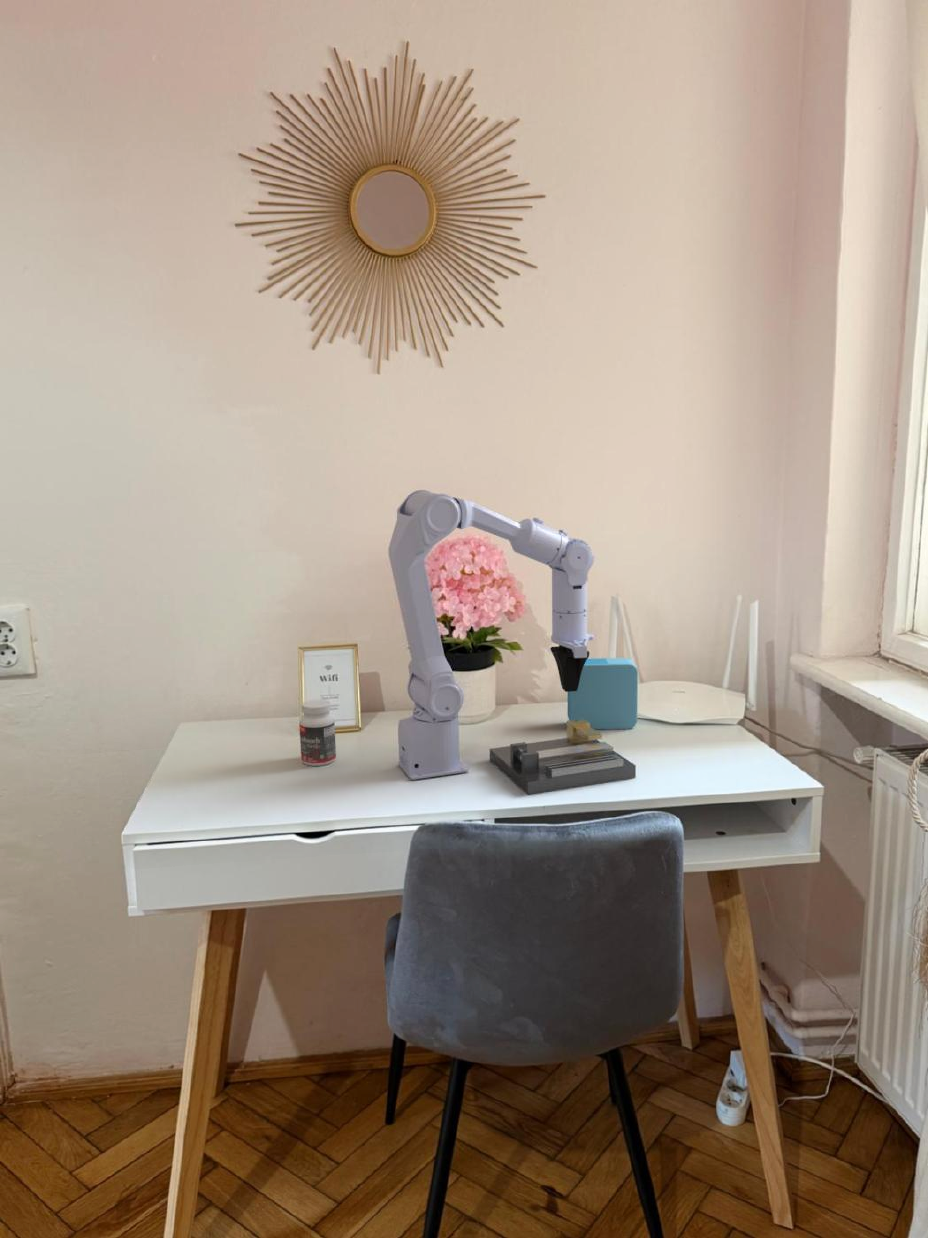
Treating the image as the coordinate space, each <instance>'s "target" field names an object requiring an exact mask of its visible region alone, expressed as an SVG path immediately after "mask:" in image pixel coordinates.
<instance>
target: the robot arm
mask: <svg viewBox="0 0 928 1238" xmlns="http://www.w3.org/2000/svg"><path fill="white" fill-rule="evenodd" d="M394 525H395V526H394V528H393V531H392V532H393V533H392V535H391V538H390V542H389V546H388V551H387V552H388V558H389V562H390V566H391V571H392V575H393V580H394V585H395V590H396V594H397V595H396V596H397V599H398V603H399V607H400V613H401V617H402V621H403V626H404V631H405V635H406V639H407V640H406V641H407V644H408V650H409V654H410V657H411V660H410V661H409V663H408V667H407V668H408V672H409V673H408V674H409V678H408V681H407V687H406V688H407V693H408V696H409V698H410V700H412V702H413V703H414V707H413V709H412V715H411V716H408V717H405V718H401V719H399V721H398V726H397V740H398V741H397V742H398V743H397V745H398V761H397V764H398V766H399V767H400V768H401V770H402V771H403V772H404V773H405V775H407V776H408V778H409V779H410V780H411V781H412V780H413V781H414V780H423V779H428V778H434V777H442V776H448V775H456V774H462V773H467V772H468V771H469V768H468V767H467V766H466V765H465V764H464V763H463V762H462V761H461V760H460V734H459V733H460V729H459V726H460V725H459V712H460V710H461V709H462V708H463V705H464V700H465V698H464V697H465V696H464V691H463V689H462V688H461V686H460V685H459V684H458V683H457V681H456V680H455V677H454V673H453V670H452V668H451V665H450V663H449V662H448V660H447V657H446V656H445V653H444V647H443V641H442V637H441V634H440V629H439V625H438V624H439V623H438V620H437V614H436V610H435V605H434V600H433V595H432V589H431V585H430V581H429V580H430V579H429V577H428V571H427V566H426V561H425V560H426V558H427V556H428V555H429V553H430V552H431V551H432V549H433V548H434V546H436V545H437V544H438V543H439V542H441V541H442V540H443V539H445V538H446V537H448V536H449V535H450V534H452V532H454V531H455V530H456V529H459V530H464V529H467V528H469V527H473V528H475V529H477V530H481V531H484V532H486V533H489V534H490V535H494V536H496V537H499V538H501V539H504V540H507V541H509V543H510V546H511V548H512V551H513V552H515V553H516V554H519V555H522V556H524V557H525V558H529V559H531V560H534V561H536V562H539V563H541V564H544V565H546V566H548V567H549V568H550V569H551V613H552V614H551V616H552V617H551V623H552V626H551V627H552V628H551V632H552V633H551V636H550V642H551V643H553V644H557V645H558V646H550V649H549V650H550V652H551V654H552V656H553V658H554V661H555V663H556V666H557V670H558V671H557V672H558V676H559V680H560V685H561V689H562V690H563V691H564V692H566V693H568V692H571V691H577V689H578V686H579V682H580V677H581V673H582V669H583V667H584V664H585V662H586V660H587V659H589V657H590V651H589V650H588V646H587V645H588V642H589V641H594V640H595V635H594V634H592V633H588V579H589V577H588V576H589V571H590V570H591V569H592V567H593V565H594V562H595V555H593V554H592V553H593V552H592V549H591V547H590V546H589V544H588V543H587V542H586V541H585V540H583V539H578V538H575V537H570V536H568V531H566V530H563V529H558V530H556V529H554V528H552V527H549V526H547V525H545V524H544V520H543V519H540V518H537V517H533V518H532V519H531V518H524V519H522V520H520V521H518V522H517V521H515V520H512V519H510V518H509V517H507V516H504V515H502V514H500V513H497V512H495V511H493V510H491V509H490V508H487V507H485V506H482V505H481V504H478V503H476V502H474V501H471V500H467V499H464V498H459V497H454V496H451V495H449V494H445V493H435V492H431V491H429V490H427V489H417V490H414V491H413V492H411V493H410V494H408V495H407V496H406V498H405V499H404V500H403V502H402V503H401V504H399V506H398V508H397V509H396V522H395V524H394Z"/></svg>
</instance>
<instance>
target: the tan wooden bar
mask: <svg viewBox="0 0 928 1238" xmlns="http://www.w3.org/2000/svg"><path fill="white" fill-rule="evenodd" d="M610 751H614V747H613V746H612V745H610V744H609V743H607V742H606V741H600V742H599V743H592V744H585V745H578V746H571V747H564V748H557V749H550V750H543V751H537V752H538V753H539V762H542V761H549V760H556V759H562V758H569V757H576V756H583V755H590V754H597V753H603V752H610ZM522 753H524V752H523V751H520V752H518V753H517V759H519V760H520V761H521V762H522Z"/></svg>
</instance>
